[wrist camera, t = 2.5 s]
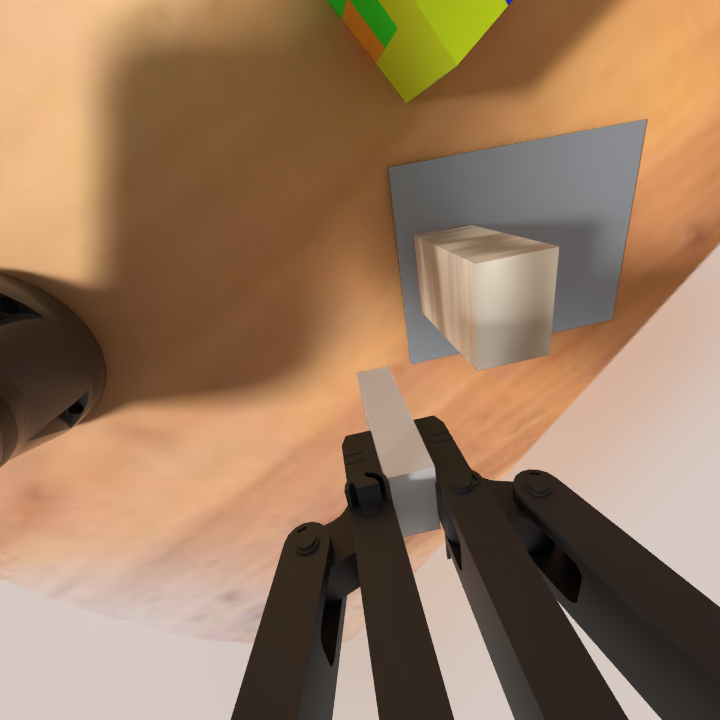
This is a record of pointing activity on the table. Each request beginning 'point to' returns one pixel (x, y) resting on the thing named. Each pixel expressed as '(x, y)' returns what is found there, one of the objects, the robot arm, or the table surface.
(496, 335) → the birch block
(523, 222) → the slate mat
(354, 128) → the table surface
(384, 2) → the puzzle toy
